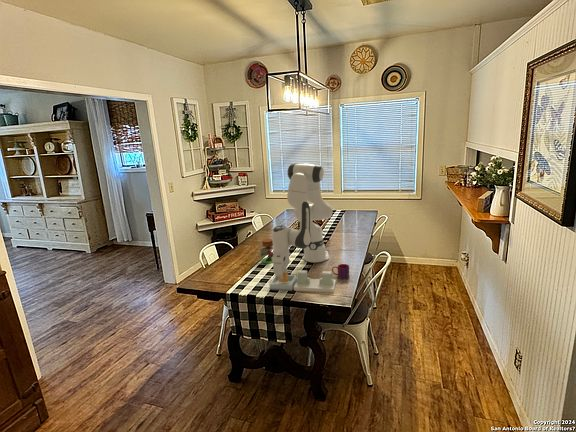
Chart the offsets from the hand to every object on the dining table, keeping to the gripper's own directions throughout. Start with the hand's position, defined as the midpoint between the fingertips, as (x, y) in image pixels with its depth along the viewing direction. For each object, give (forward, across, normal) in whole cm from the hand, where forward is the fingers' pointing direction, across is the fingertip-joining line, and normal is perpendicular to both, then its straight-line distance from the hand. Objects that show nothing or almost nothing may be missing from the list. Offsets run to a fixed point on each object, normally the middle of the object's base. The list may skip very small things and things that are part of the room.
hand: (283, 276), depth 186 cm
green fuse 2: (+3, 0, +26) cm, 26 cm away
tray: (+5, 0, 0) cm, 5 cm away
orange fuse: (+3, 0, 0) cm, 3 cm away
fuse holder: (+5, 0, +18) cm, 19 cm away
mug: (+5, -15, +32) cm, 35 cm away
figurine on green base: (+5, -37, -20) cm, 43 cm away
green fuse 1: (+3, 0, +12) cm, 12 cm away
